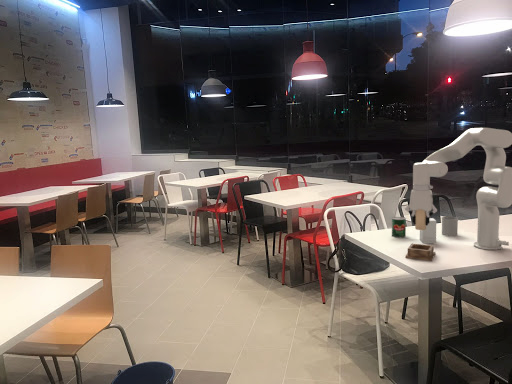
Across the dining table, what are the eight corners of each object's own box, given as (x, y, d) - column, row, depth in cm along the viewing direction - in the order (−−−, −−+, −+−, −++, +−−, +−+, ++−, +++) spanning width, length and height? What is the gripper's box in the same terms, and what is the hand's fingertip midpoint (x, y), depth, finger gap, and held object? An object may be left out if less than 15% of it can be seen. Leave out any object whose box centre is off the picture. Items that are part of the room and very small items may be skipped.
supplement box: (436, 243, 217) (436, 220, 215) (422, 243, 218) (422, 220, 217) (433, 239, 224) (433, 217, 222) (419, 239, 226) (419, 218, 224)
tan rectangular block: (426, 228, 195) (427, 208, 194) (425, 230, 191) (425, 210, 190) (416, 227, 198) (416, 207, 196) (414, 229, 194) (414, 209, 192)
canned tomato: (396, 238, 231) (396, 219, 229) (389, 235, 238) (389, 217, 237) (408, 236, 232) (408, 218, 231) (400, 233, 240) (400, 216, 238)
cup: (460, 235, 231) (461, 218, 229) (450, 236, 228) (450, 220, 226) (448, 232, 239) (449, 215, 237) (438, 233, 236) (438, 217, 234)
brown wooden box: (435, 253, 198) (435, 245, 198) (431, 260, 188) (431, 251, 188) (410, 251, 205) (410, 242, 204) (405, 257, 195) (405, 248, 194)
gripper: (441, 187, 190) (440, 224, 193) (404, 186, 199) (404, 221, 202) (439, 189, 184) (438, 227, 187) (401, 188, 193) (401, 224, 196)
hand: (420, 224), depth 194 cm, fingers closed on tan rectangular block, 5 cm apart
